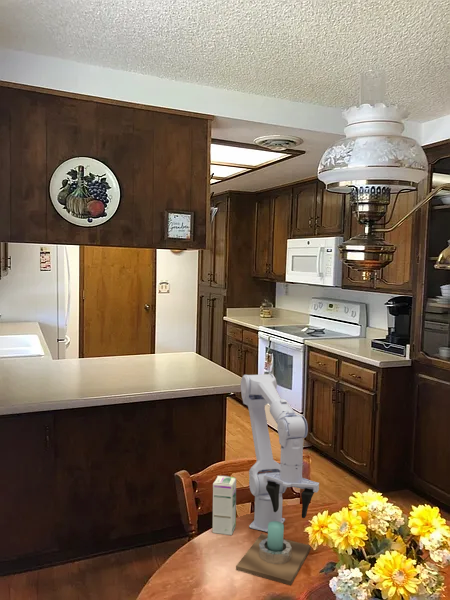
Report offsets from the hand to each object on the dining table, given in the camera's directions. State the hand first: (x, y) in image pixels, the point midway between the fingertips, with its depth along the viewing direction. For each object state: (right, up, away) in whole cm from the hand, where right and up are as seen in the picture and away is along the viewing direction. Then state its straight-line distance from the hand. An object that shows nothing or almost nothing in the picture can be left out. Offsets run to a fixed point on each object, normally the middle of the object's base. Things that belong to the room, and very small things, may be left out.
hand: (289, 513), depth 135 cm
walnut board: (-4, -10, -3) cm, 12 cm away
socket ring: (-4, -10, -3) cm, 12 cm away
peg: (-4, -9, -3) cm, 11 cm away
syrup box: (-17, -10, +12) cm, 23 cm away
